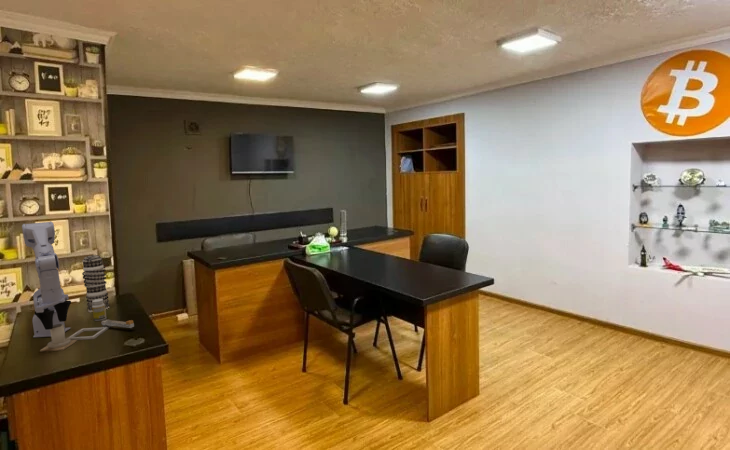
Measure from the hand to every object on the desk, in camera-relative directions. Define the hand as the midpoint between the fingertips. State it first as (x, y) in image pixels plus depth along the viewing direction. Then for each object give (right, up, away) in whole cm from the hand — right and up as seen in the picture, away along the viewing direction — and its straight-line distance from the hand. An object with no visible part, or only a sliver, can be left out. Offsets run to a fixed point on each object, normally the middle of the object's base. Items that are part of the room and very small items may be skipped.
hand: (56, 325), depth 153 cm
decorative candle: (-11, -3, +42) cm, 44 cm away
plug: (+1, -7, +1) cm, 8 cm away
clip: (+13, -4, +15) cm, 21 cm away
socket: (+4, -6, +11) cm, 14 cm away
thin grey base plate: (+7, -5, +18) cm, 20 cm away
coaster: (0, -8, +1) cm, 8 cm away
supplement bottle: (-2, -4, +29) cm, 29 cm away
